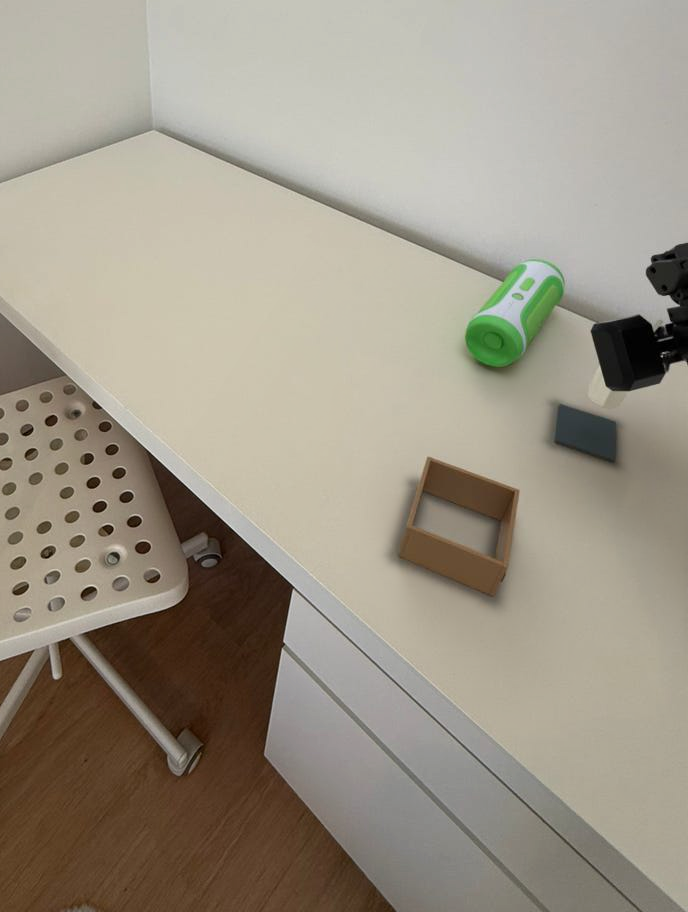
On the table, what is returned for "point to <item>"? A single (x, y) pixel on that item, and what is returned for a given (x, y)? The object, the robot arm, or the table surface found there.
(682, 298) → the robot arm
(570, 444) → the mat
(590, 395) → the milkshake
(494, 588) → the carton
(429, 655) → the table surface
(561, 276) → the speaker
